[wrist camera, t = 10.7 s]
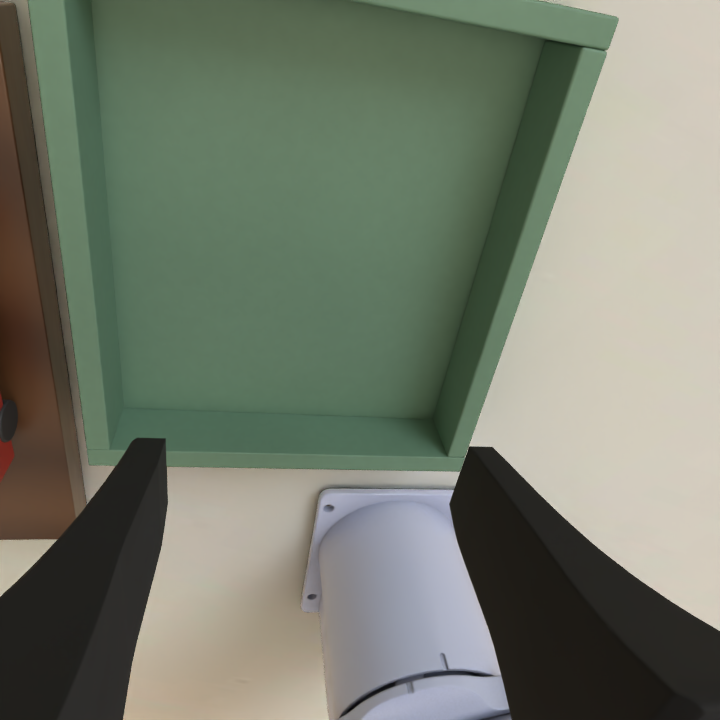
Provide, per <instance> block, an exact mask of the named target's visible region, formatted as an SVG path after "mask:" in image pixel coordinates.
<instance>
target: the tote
mask: <svg viewBox="0 0 720 720" xmlns="http://www.w3.org/2000/svg"><path fill="white" fill-rule="evenodd" d="M28 7H29V15H30V22H31V30H32V37H33V45H34V53H35V60H36V68H37V75H38V83H39V91H40V98H41V106H42V113H43V121H44V128H45V136H46V144H47V151H48V159H49V166H50V174H51V182H52V189H53V197H54V204H55V212H56V219H57V227H58V235H59V242H60V250H61V257H62V265H63V273H64V280H65V288H66V295H67V303H68V311H69V318H70V326H71V333H72V341H73V348H74V356H75V364H76V371H77V379H78V386H79V394H80V402H81V409H82V417H83V424H84V432H85V439H86V447H87V455H88V462H89V465H104V466H116V465H117V464H118V462H119V461H120V459H121V458H122V456H123V455H124V453H125V452H126V450H127V448H128V447H129V445H130V443H131V442H132V441H133V440H134V439H136V438H166V463H167V467H222V468H280V469H339V470H398V471H456V472H459V471H461V468H462V465H463V462H464V459H465V455H466V452H467V449H468V447H469V444H470V441H471V438H472V435H473V432H474V430H475V427H476V424H477V421H478V418H479V415H480V413H481V410H482V407H483V404H484V401H485V398H486V395H487V393H488V390H489V387H490V384H491V381H492V378H493V376H494V373H495V370H496V367H497V364H498V361H499V359H500V356H501V353H502V350H503V347H504V344H505V342H506V339H507V336H508V333H509V330H510V327H511V324H512V322H513V319H514V316H515V313H516V310H517V307H518V305H519V302H520V299H521V296H522V293H523V290H524V288H525V285H526V282H527V279H528V276H529V273H530V271H531V268H532V265H533V262H534V259H535V256H536V253H537V251H538V248H539V245H540V242H541V239H542V236H543V234H544V231H545V228H546V225H547V222H548V219H549V217H550V214H551V211H552V208H553V205H554V202H555V200H556V197H557V194H558V191H559V188H560V185H561V182H562V180H563V177H564V174H565V171H566V168H567V165H568V163H569V160H570V157H571V154H572V151H573V148H574V146H575V143H576V140H577V137H578V134H579V131H580V129H581V126H582V123H583V120H584V117H585V114H586V112H587V109H588V106H589V103H590V100H591V97H592V94H593V92H594V89H595V86H596V83H597V80H598V77H599V75H600V72H601V69H602V66H603V63H604V60H605V58H606V54H607V52H606V51H604V50H608V48H609V46H610V43H611V41H612V38H613V35H614V32H615V29H616V26H617V23H618V18H617V17H616V16H611V15H606V14H601V13H597V12H592V11H587V10H582V9H577V8H573V7H568V6H563V5H558V4H554V3H549V2H544V1H539V0H28Z"/></svg>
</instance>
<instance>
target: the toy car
mask: <svg viewBox="0 0 720 720" xmlns="http://www.w3.org/2000/svg"><path fill="white" fill-rule="evenodd" d="M17 422H18V411H17V406H16V404H15V402H14V401H12V400H3V399H2V397H1V393H0V482H1V481H2V479H3V477H4V475H5V473H6V471H7V469H8V467H9V466H10V464H11V462H12V460H13V458H14V456H15V455H14V451H13V446H12V442H11V439H12V438H13V436H14V434H15V431H16V427H17Z"/></svg>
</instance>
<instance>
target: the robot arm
mask: <svg viewBox="0 0 720 720" xmlns="http://www.w3.org/2000/svg"><path fill="white" fill-rule="evenodd" d="M167 505H168V495H167V463H166V438H136V439H134V440H133V441H132V442H131V443H130V445H129V447H128V448H127V450H126V452H125V453H124V455H123V456H122V458H121V459H120V461H119V462H118V464H117V465H116V467H115V468H114V470H113V471H112V472H111V474H110V475H109V477H108V478H107V479H106V481H105V482H104V484H103V485H102V486H101V487H100V489H99V490H98V491H97V493H96V494H95V495H94V497H93V498H92V499H91V500H90V502H89V503H88V504H87V506H86V507H85V508H84V509H83V511H82V512H81V513H80V514H79V515H78V517H77V518H76V519H75V520H74V521H73V522H72V523H71V525H70V526H69V527H68V528H67V529H66V530H65V532H64V533H63V534H62V535H61V536H60V537H59V538H58V540H57V541H56V542H55V543H54V544H53V545H52V546H51V547H50V548H49V549H48V551H47V552H46V553H45V554H44V555H43V556H42V557H41V558H40V559H39V560H38V561H37V562H36V563H35V564H34V565H33V566H32V567H31V568H30V569H29V570H28V571H27V572H26V573H25V574H24V575H23V576H22V577H21V578H20V579H19V580H18V581H17V582H16V583H15V584H14V585H13V586H12V587H10V588H9V589H8V590H7V591H6V592H5V593H4V594H3V595H2V596H1V597H0V720H123V715H124V709H125V703H126V696H127V690H128V684H129V678H130V672H131V666H132V661H133V656H134V652H135V647H136V643H137V639H138V635H139V631H140V627H141V623H142V620H143V616H144V612H145V608H146V604H147V600H148V597H149V593H150V589H151V585H152V581H153V577H154V574H155V570H156V566H157V562H158V558H159V554H160V550H161V546H162V540H163V533H164V526H165V519H166V512H167ZM326 505H330V506H326ZM301 609H302V610H303V611H304V612H319V618H320V629H321V641H322V652H323V663H324V675H325V686H326V698H327V709H328V715H329V720H720V631H718V630H717V629H715V628H713V627H712V626H710V625H708V624H707V623H705V622H703V621H701V620H700V619H698V618H696V617H695V616H693V615H691V614H690V613H688V612H687V611H685V610H683V609H682V608H680V607H679V606H677V605H676V604H674V603H672V602H671V601H669V600H668V599H666V598H665V597H663V596H662V595H660V594H659V593H658V592H656V591H655V590H653V589H652V588H650V587H649V586H647V585H646V584H644V583H643V582H641V581H640V580H639V579H637V578H636V577H635V576H633V575H632V574H630V573H629V572H628V571H626V570H625V569H624V568H623V567H621V566H620V565H619V564H617V563H616V562H615V561H614V560H612V559H611V558H610V557H608V556H607V555H606V554H605V553H603V552H602V551H601V550H600V549H598V548H597V547H596V546H595V545H594V544H592V543H591V542H590V541H589V540H588V539H587V538H586V537H584V536H583V535H582V534H581V533H580V532H579V531H578V530H577V529H575V528H574V527H573V526H572V525H571V524H570V523H569V522H568V521H567V520H565V519H564V518H563V517H562V516H561V515H560V514H559V513H558V512H557V511H556V510H555V509H554V508H553V507H552V506H551V505H550V504H549V503H548V502H547V501H546V500H545V499H544V498H543V497H541V496H540V495H539V494H538V493H537V492H536V491H535V490H534V489H533V488H532V486H531V485H530V484H529V483H528V482H527V481H526V480H525V479H524V478H523V477H522V476H521V475H520V474H519V473H518V472H517V471H516V470H515V469H514V468H513V467H512V466H511V465H510V464H509V463H508V462H507V461H506V460H505V459H504V458H503V457H502V456H501V455H500V454H499V453H498V452H497V451H496V450H495V449H494V448H493V447H469V449H468V452H467V455H466V458H465V460H464V463H463V466H462V469H461V472H460V475H459V477H458V480H457V483H456V486H455V489H454V490H437V489H335V488H330V489H326V490H323V491H322V492H321V493H320V495H319V499H318V505H317V511H316V517H315V522H314V528H313V534H312V540H311V545H310V551H309V557H308V563H307V568H306V574H305V580H304V586H303V591H302V597H301ZM483 615H484V616H483ZM487 626H488V627H487ZM488 629H489V630H488Z"/></svg>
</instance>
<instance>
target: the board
mask: <svg viewBox="0 0 720 720" xmlns="http://www.w3.org/2000/svg"><path fill="white" fill-rule="evenodd" d="M0 393H1V397H2V399H3V400H12V401H14V402H15V404H16V406H17V411H18V422H17V427H16V431H15V434H14V436H13V438H12V439H11V442H12V446H13V451H14V455H15V456H14V458H13V460H12V462H11V464H10V466H9V467H8V469H7V471H6V473H5V475H4V477H3V479H2V481H1V482H0V540H22V539H58V538H59V537H60V536H61V535H62V534H63V533H64V532H65V530H66V529H67V528H68V527H69V526H70V525H71V523H72V522H73V521H74V520H75V519H76V518H77V517H78V515H79V514H80V513H81V512H82V511H83V509H84V508H85V507H86V506H87V505H86V498H85V491H84V484H83V477H82V470H81V463H80V456H79V449H78V442H77V435H76V428H75V421H74V414H73V407H72V400H71V393H70V386H69V379H68V372H67V365H66V358H65V351H64V344H63V336H62V329H61V322H60V315H59V308H58V301H57V294H56V287H55V280H54V273H53V266H52V259H51V252H50V245H49V238H48V231H47V224H46V217H45V210H44V203H43V196H42V189H41V182H40V175H39V168H38V161H37V154H36V147H35V140H34V133H33V126H32V119H31V112H30V105H29V98H28V91H27V84H26V76H25V69H24V62H23V55H22V48H21V41H20V34H19V27H18V20H17V13H16V6H15V4H13V3H9V2H3V1H0Z"/></svg>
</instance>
